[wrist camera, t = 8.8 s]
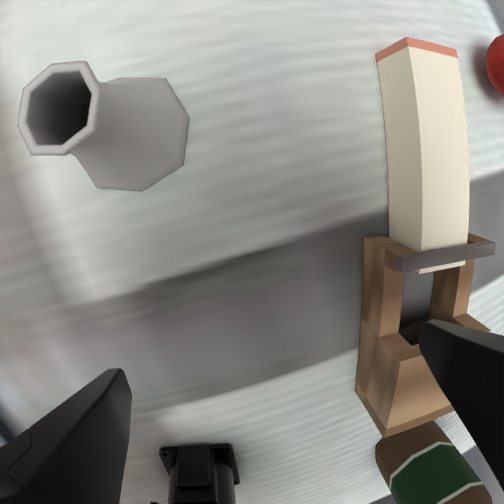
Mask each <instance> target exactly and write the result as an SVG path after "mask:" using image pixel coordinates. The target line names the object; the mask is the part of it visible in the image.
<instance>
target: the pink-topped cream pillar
mask: <svg viewBox="0 0 504 504" xmlns="http://www.w3.org/2000/svg"><path fill="white" fill-rule="evenodd" d="M457 58H458V56H457V51H456V49H453V48H449V47H446V46H442V45H438V44H435V43H431V42H427V41H422V40H418V39H414V38H409V37H405V38H403V39H402V40H400V41H398V42H396V43H394V44H393V45H391V46H389V47H387V48H385V49H384V50H382V51H380V52H378V53H377V54H376V61H377V65H378V72H379V79H380V86H381V94H382V103H383V112H384V122H385V133H386V147H387V163H388V188H389V238H390V239H392V240H395V241H397V242H399V243H401V244H403V245H405V246H407V247H409V248H411V249H413V250H415V251H417V252H422V251H428V250H435V249H441V248H447V247H454V246H460V245H466V244H467V237H468V221H469V150H468V134H467V123H466V113H465V104H464V96H463V89H462V82H461V76H460V70H459V65H458V59H457ZM462 265H465V261H460V262H455V263H450V264H445V265H440V266H434V267H429V268H424V269H418V270H414V271H415V272H417V273H419V274H422V273H427V272H432V271H438V270H443V269H448V268H453V267H457V266H462Z"/></svg>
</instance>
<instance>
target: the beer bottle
mask: <svg viewBox="0 0 504 504" xmlns="http://www.w3.org/2000/svg"><path fill="white" fill-rule="evenodd" d="M376 463H377V465H378V467H379V470H380V472H381V474H382V476H383V478H384V480H385V482H386V483H387V485H388V487H389V489H390V491H391V493H392V495H393V497H394V499H395V501H396V503H397V504H492V499H491V496H490V494H489V493H488V491H487V489H486V488H485V486H484V484H483V483H482V482H481V480H480V479H479V477H478V476H477V475H476V473H475V472H474V471H473V469H472V468H471V467H470V466H469V464H468V463H467V462H466V460H465V459H464V458H463V456H462V455H461V454H460V453H459V451H458V450H457V449H456V447H455V446H454V445H453V443H452V442H451V441H450V440H449V438H448V437H447V436H446V435H445V433H444V432H443V431H442V429H441V428H440V427H439V426H438V425H437V424H436V423H435V422H434V421H433V420H431V421H429V422H426V423H424V424H421V425H419V426H416V427H414V428H411V429H408V430H406V431H403V432H400V433H397V434H395V435H392V436H389V437H386V438H383V439H382V440H381V441H380V442H379V443H378V444H377V445H376Z"/></svg>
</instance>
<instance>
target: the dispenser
mask: <svg viewBox="0 0 504 504" xmlns="http://www.w3.org/2000/svg"><path fill="white" fill-rule="evenodd" d="M494 253H495V242H492V241H489V240H487V239H484V238H481V237H478V236H476V235H473V234H470V233H468V237H467V244H466V245H460V246H454V247H447V248H441V249H435V250H428V251H422V252H417V251H415V250H413V249H411V248H409V247H407V246H405V245H403V244H401V243H399V242H397V241H395V240H392V239H390V238H388V237H386V236H384V235H378V236H369V237H364V245H363V292H362V313H361V329H360V342H359V354H358V365H357V375H356V384H355V391H356V393H357V395H358V396H359V398H360V400H361V401H362V403H363V404H364V406H365V408H366V409H367V411H368V413H369V414H370V416H371V418H372V419H373V421H374V423H375V424H376V426H377V428H378V429H379V431H380V433H381V435H382V436H383V438H386V437H389V436H392V435H395V434H397V433H400V432H403V431H406V430H408V429H411V428H414V427H416V426H419V425H421V424H424V423H426V422H429V421H431V420H434V419H436V418H438V417H441V416H443V415H445V414H447V413H450V412H452V411H454V408H453V407H452V405H451V404H450V402H449V401H448V399H447V398H446V396H445V395H444V393H443V392H442V390H441V389H440V387H439V385H438V384H437V382H436V380H435V378H434V376H433V374H432V372H431V371H430V369H429V367H428V365H427V363H426V361H425V359H424V358H423V356H422V354H421V352H420V349H419V344H416V345H413V346H411V345H410V344H409V343H408V342H407V341H406V340H405V339H404V338H403V337H402V336H401V335H400V334H399V333H398V331H399V323H400V315H401V305H402V295H403V283H404V272H407V271H413V270H418V269H424V268H429V267H434V266H440V265H445V264H450V263H455V262H460V261H465V265H462V266H457V267H453V268H448V269H443V270H438V271H435V273H434V283H433V292H432V300H431V307H430V314H429V321H430V320H433V319H436V320H440V321H444V322H448V323H452V324H456V325H460V326H465V327H469V328H473V329H477V330H481V331H485V332H489V333H490V331H491V330H490V329H488V328H487V327H486V326H484V325H483V324H481V323H480V322H478V321H477V320H475V319H474V318H473V317H471V316H470V315H468V314H467V307H468V301H469V296H470V289H471V283H472V275H473V268H474V259H475V258H480V257H485V256H490V255H494Z"/></svg>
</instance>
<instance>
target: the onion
mask: <svg viewBox="0 0 504 504" xmlns="http://www.w3.org/2000/svg"><path fill="white" fill-rule="evenodd" d="M486 74H487V76H488V78H489V80H490V81H491V83H492V85H493V86H494V87H495V88H496V89H497V91H499V92H500V93H501V94H502V95H503V96H504V34H503V35H500V36H498V37H496V38H495V39H494V40H493V42H492V43H491V44H490V46H489V47H488V52H487V57H486Z"/></svg>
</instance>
